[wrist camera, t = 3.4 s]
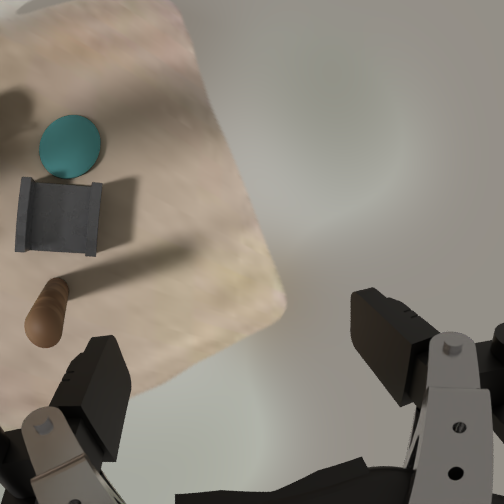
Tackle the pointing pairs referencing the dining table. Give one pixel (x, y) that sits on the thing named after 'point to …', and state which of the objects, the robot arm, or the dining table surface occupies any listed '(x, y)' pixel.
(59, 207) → the metal channel
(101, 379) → the robot arm
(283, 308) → the dining table surface
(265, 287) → the dining table surface
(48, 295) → the walnut dowel
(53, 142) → the teal mat
